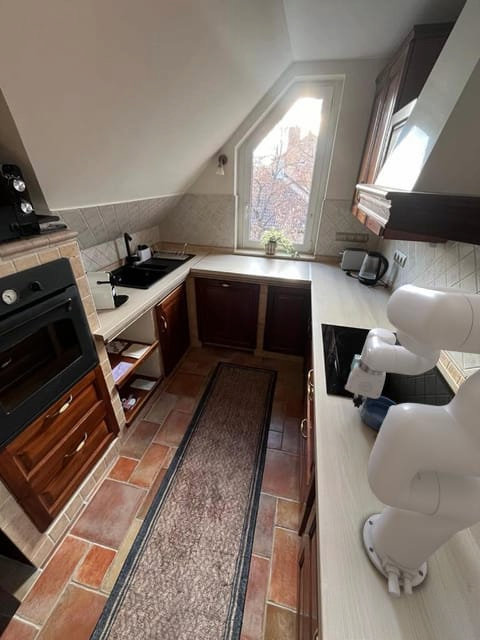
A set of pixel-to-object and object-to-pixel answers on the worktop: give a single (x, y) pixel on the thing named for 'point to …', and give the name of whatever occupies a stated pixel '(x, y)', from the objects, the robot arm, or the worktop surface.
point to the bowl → (375, 411)
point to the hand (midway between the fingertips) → (356, 404)
